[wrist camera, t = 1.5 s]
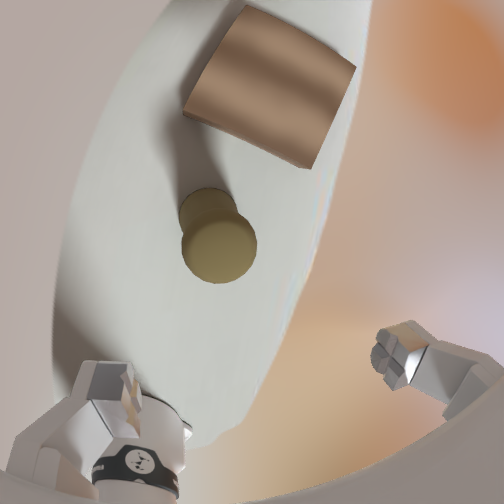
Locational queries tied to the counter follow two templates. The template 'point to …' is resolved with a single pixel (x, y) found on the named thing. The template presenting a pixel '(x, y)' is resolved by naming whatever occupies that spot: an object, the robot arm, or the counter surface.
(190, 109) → the walnut base
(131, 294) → the counter surface
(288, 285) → the counter surface
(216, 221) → the olive pawn
